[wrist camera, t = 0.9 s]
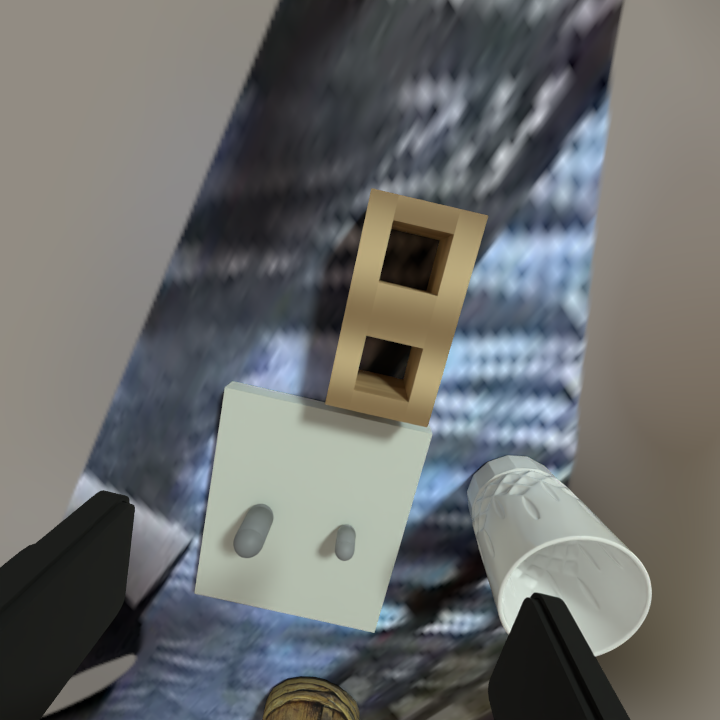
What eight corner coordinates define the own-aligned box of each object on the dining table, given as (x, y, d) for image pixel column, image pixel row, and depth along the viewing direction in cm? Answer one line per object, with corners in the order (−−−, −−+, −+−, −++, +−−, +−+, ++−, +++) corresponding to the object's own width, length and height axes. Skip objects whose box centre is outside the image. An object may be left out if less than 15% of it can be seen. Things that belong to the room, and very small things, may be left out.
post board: (232, 381, 29) (196, 410, 23) (429, 425, 29) (442, 465, 23) (202, 579, 33) (165, 645, 27) (374, 616, 33) (374, 690, 27)
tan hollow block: (372, 203, 26) (371, 188, 21) (466, 225, 26) (488, 215, 21) (333, 381, 28) (324, 404, 24) (418, 400, 29) (427, 427, 24)
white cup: (453, 533, 31) (488, 654, 21) (465, 443, 29) (509, 530, 20) (552, 541, 31) (633, 667, 21) (570, 450, 29) (668, 542, 19)
